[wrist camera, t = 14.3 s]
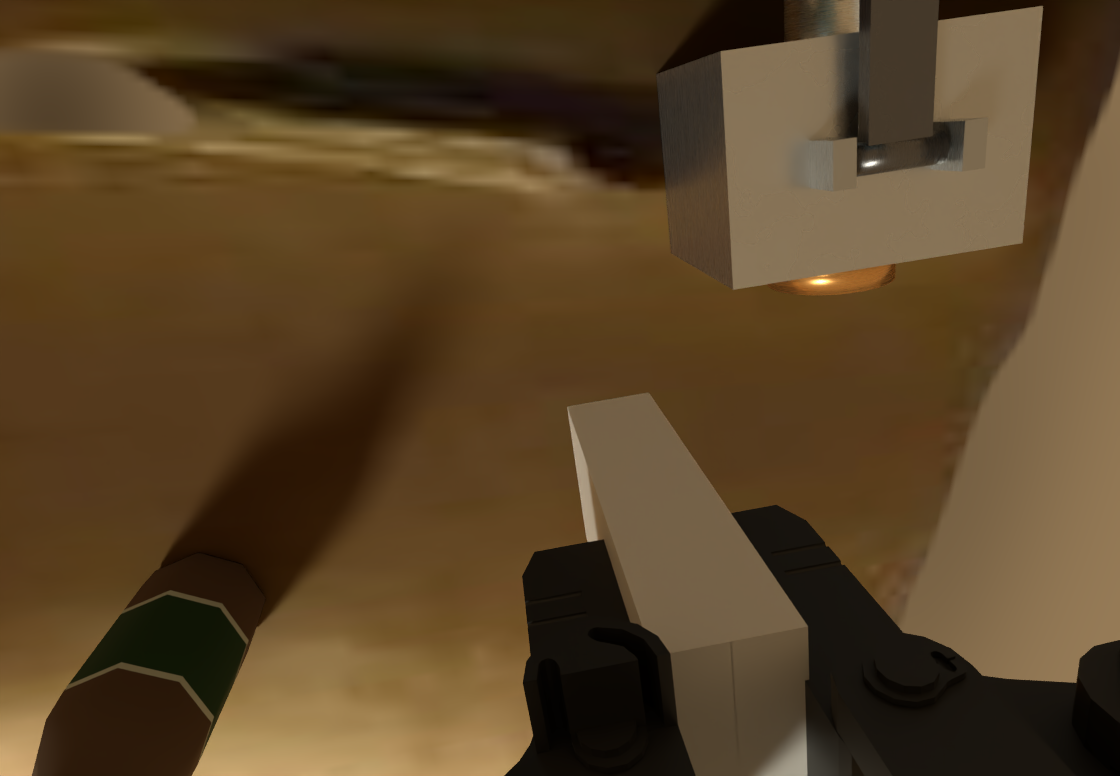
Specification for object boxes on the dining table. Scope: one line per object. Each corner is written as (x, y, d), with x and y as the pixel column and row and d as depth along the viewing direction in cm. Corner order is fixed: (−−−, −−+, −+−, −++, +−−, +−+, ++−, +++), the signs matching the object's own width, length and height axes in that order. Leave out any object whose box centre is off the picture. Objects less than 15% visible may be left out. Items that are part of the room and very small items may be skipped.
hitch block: (656, 74, 39) (739, 44, 27) (897, 39, 40) (1085, -5, 28) (671, 253, 43) (750, 299, 30) (893, 218, 44) (1058, 249, 31)
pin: (734, -74, 35) (788, -118, 29) (859, -90, 35) (937, -137, 29) (750, 277, 41) (797, 301, 35) (856, 260, 41) (921, 281, 35)
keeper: (837, -33, 28) (855, -41, 27) (943, -47, 28) (965, -56, 27) (836, 177, 31) (852, 179, 30) (932, 162, 31) (952, 164, 30)
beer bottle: (260, 545, 46) (56, 931, 24) (276, 643, 49) (105, 1076, 26) (134, 552, 45) (-201, 959, 23) (156, 652, 48) (-125, 1105, 25)
